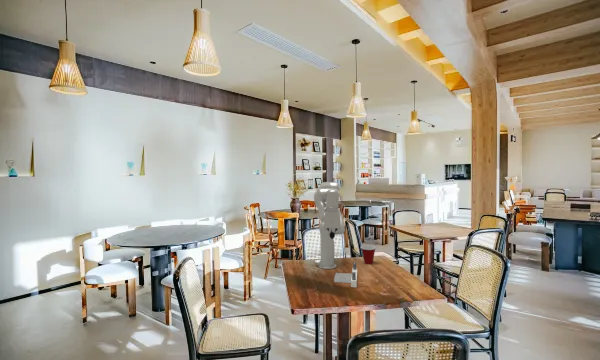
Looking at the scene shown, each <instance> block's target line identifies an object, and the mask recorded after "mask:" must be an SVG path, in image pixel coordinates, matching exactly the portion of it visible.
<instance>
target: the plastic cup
mask: <svg viewBox="0 0 600 360" xmlns="http://www.w3.org/2000/svg"><path fill="white" fill-rule="evenodd" d="M376 248H377V247H376V246H375V245H371V244H370V245H369V244H365V245H364V244H363V245H361V246H360V249H361V251H362V256H363V257H362V258H363V262H364V264H366V265H372V264H373V263H374V257H375V252H376Z"/></svg>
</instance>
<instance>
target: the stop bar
mask: <svg viewBox="0 0 600 360" xmlns="http://www.w3.org/2000/svg"><path fill="white" fill-rule="evenodd" d="M352 263H353V264H352V270H351V274H352V277H351V283H350V286H351V288H357V285H358V268H357V262H352Z"/></svg>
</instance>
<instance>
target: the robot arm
mask: <svg viewBox="0 0 600 360" xmlns="http://www.w3.org/2000/svg"><path fill="white" fill-rule="evenodd" d="M340 188H341V187H340V185H339V183H338V182H336V181H323V182H321V183H320V184H319V186H318V187H317V188H316V192H315V193H314V194H313V200H314V201H313V202H314V204H315V207H316V208H317V210H318V216H319V220H320V222H319V226H318V227H319V235H320V258H319V259H314V264H317V265H318V267H319V268H320V269H325V270H332V269H335V268H337V267H338V266H337V263H335V240H334V239H335V237H336V236H338V235H339V236H340V235H344V233H345V231H346V229H345V228H346V227H345V223H344V218H343V215H342V212H341V211H339V210H340V209H339V198H340Z"/></svg>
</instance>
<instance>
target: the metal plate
mask: <svg viewBox="0 0 600 360" xmlns="http://www.w3.org/2000/svg"><path fill="white" fill-rule="evenodd" d="M351 277H352V273H350V272H349V273H347V272H343V273H342V272H335V274H334V277H333V278H334V279H333V280H334V283H344V284H345V283H346V284H351Z"/></svg>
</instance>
